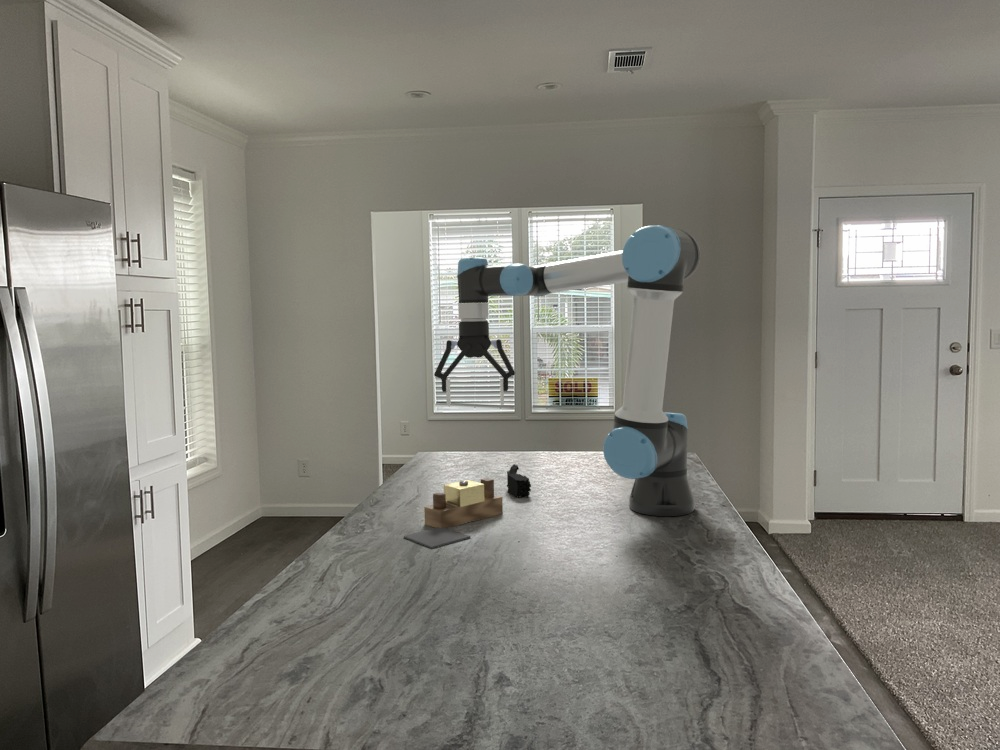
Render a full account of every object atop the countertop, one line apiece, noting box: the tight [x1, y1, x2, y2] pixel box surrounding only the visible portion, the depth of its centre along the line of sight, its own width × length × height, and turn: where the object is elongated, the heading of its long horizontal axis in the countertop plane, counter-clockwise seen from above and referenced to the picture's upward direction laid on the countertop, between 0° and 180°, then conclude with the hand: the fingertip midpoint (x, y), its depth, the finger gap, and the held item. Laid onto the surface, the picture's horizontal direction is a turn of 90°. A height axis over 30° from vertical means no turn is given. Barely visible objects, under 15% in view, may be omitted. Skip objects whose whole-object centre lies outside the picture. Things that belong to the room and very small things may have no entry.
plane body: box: [423, 477, 504, 529], centre depth 169 cm, size 18×6×8 cm, turn 131°
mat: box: [403, 527, 471, 549], centre depth 156 cm, size 10×10×1 cm
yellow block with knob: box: [443, 479, 484, 507], centre depth 169 cm, size 7×6×5 cm
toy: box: [506, 464, 532, 499], centre depth 194 cm, size 15×5×7 cm, turn 11°
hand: (475, 404), depth 187 cm, fingers open, 13 cm apart
